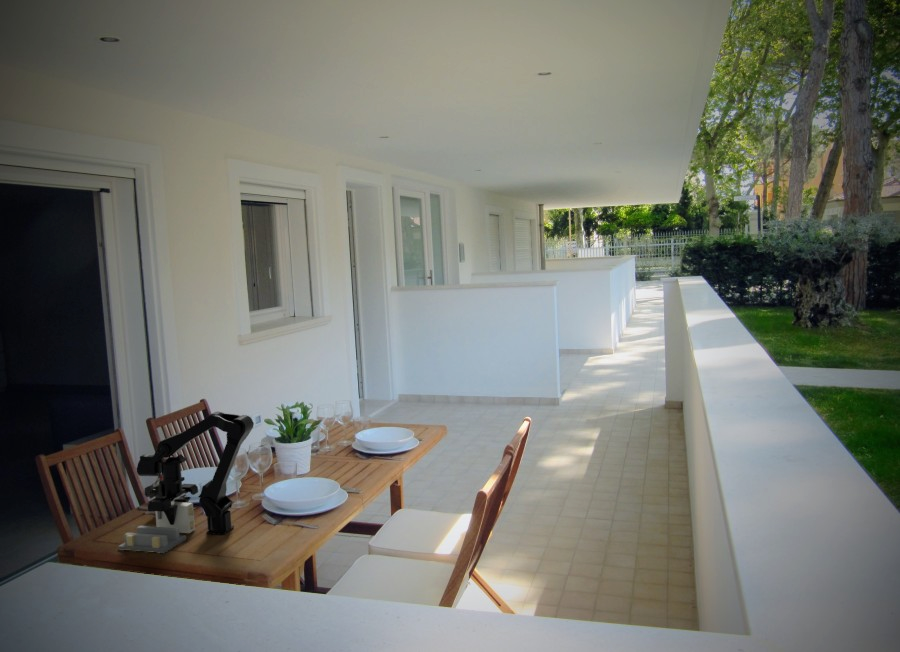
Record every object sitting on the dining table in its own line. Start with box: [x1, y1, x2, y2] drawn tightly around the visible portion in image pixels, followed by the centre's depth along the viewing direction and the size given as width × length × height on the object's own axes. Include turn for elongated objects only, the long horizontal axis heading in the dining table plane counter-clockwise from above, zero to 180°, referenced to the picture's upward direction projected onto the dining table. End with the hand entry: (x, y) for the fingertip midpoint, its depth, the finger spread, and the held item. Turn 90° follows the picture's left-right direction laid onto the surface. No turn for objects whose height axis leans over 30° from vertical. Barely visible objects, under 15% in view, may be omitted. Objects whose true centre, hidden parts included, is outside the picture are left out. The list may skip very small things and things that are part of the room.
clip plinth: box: [117, 525, 187, 554], centre depth 215 cm, size 16×11×4 cm
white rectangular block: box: [154, 502, 196, 534], centre depth 226 cm, size 13×4×9 cm, turn 76°
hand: (175, 522), depth 226 cm, fingers closed on white rectangular block, 3 cm apart
